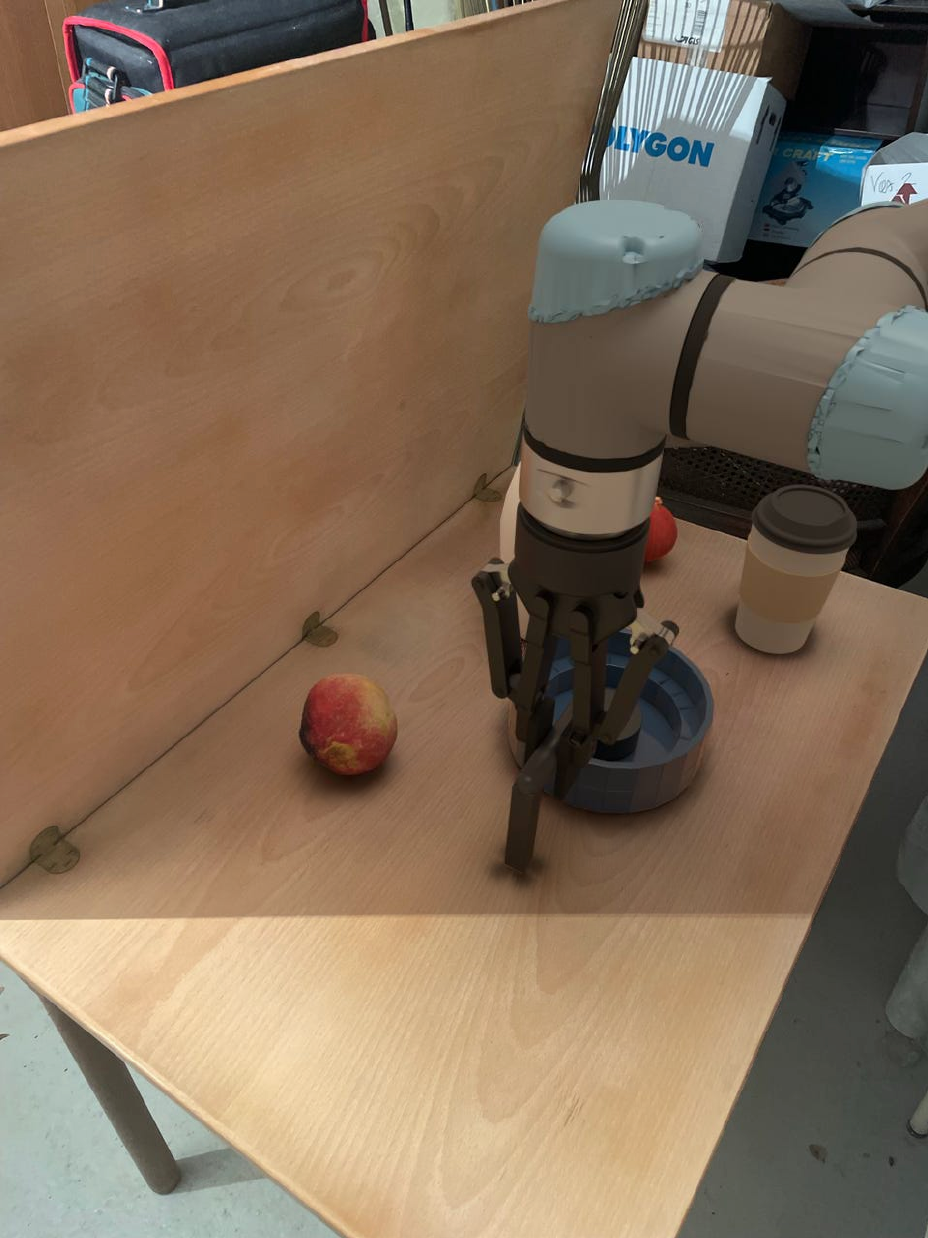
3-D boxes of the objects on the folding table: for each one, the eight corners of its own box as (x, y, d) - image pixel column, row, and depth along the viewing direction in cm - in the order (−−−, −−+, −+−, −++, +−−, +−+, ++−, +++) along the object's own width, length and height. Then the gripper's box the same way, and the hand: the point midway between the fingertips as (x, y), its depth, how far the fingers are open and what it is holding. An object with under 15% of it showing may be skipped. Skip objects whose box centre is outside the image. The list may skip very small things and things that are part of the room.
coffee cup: (704, 627, 88) (737, 497, 79) (756, 590, 93) (793, 463, 83) (785, 675, 83) (830, 543, 74) (836, 632, 88) (884, 503, 78)
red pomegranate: (631, 581, 94) (642, 517, 89) (606, 550, 98) (616, 487, 93) (680, 571, 95) (694, 507, 90) (654, 541, 99) (666, 478, 94)
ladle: (585, 697, 79) (600, 612, 73) (648, 725, 77) (669, 639, 71) (477, 851, 67) (483, 764, 60) (549, 889, 65) (563, 803, 58)
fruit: (409, 782, 73) (407, 713, 68) (316, 807, 71) (306, 738, 66) (382, 716, 78) (378, 648, 73) (295, 738, 76) (284, 669, 71)
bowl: (725, 718, 79) (740, 669, 75) (656, 851, 68) (670, 801, 64) (560, 652, 85) (565, 603, 81) (473, 764, 74) (475, 714, 71)
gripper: (436, 497, 51) (436, 771, 66) (687, 584, 45) (624, 862, 60) (501, 441, 56) (487, 708, 71) (735, 513, 50) (665, 786, 65)
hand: (550, 778), depth 65 cm, fingers closed on ladle, 2 cm apart
